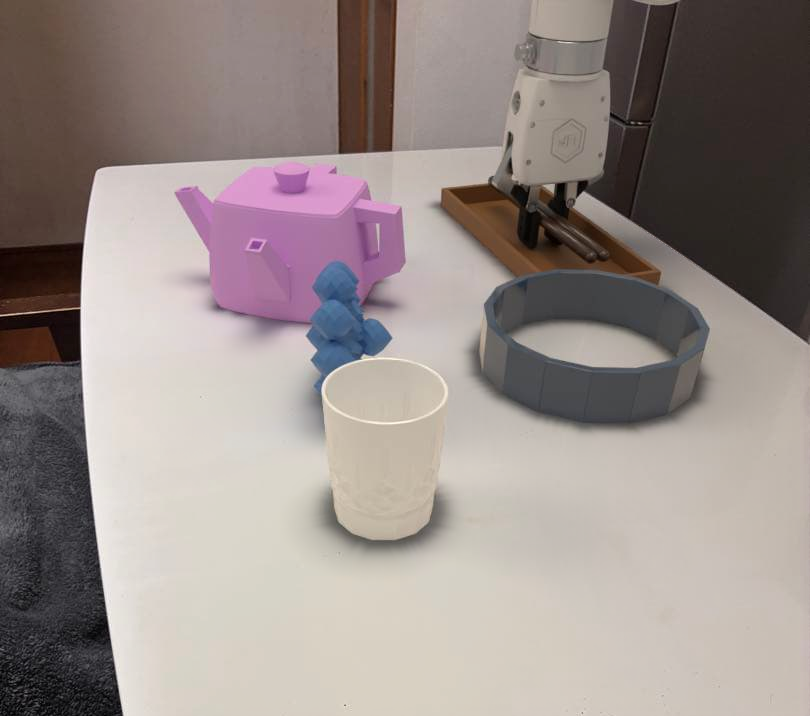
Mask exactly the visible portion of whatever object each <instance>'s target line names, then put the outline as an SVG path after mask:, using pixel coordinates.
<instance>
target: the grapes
mask: <svg viewBox="0 0 810 716" xmlns="http://www.w3.org/2000/svg"><path fill="white" fill-rule="evenodd" d="M359 282H360V281H359V280H358V278H357V277H356V275H355V274H354V273H353V272H352V270H351V269H350V268H349V267H348V266H347V265H346V264H345V263H343V262H341V261H333V262H331V263H329V264H328V265H327V266H326V267H325V268H324V269H323V271H322V272H321V273H320V274H319V276H318V277H317V278H316V282H315V283H314V285H313V286H312V289H313V290H314V292H315V293H316V294H317V296H318V297H319V300H320V301H321V303H322V305H321V306H320V307H319V308H318V309H317V311H316V312H315V313H314V314H313V316H312V317H311V318H310V321H311V322H312V323H311V324H312V325H313V326H311V328H310V329H309V330H308V331H307V333H306V334H305V337H306V338H307V340H308V341H309V342H310V344H311V345H312V346H313V347H314V349H315V350H317V351H316V352H315V353H314V354H313V355H312V357H311V358H310V361H311V363H312V364H313V366H314V367H315V368H316V369H317V371H319V373H320V374H321V376H320V377H319V378H318V380H316V382H315V384H314V385H313V388H314V389H315V390H316V392H317V393H318V395H320V396H321V397H322V392H321V389H322V384H323V382H324V380H325V379H326V377H327V376H328V375H329V374H330V373H331V372H332V371H334V370H335V369H337V368H339V367H340V366H343V365H345V364H347V363H350V362H353V361H357V360H362V359H363V358H362V357H363V355H365V356H368V357H375V356H377V355H379V354H380V353H381V352H383V351H384V350H385V349H386V348H387V346H388V345H390V343H391V341H392V340H393V336H392V334H391V333H390V332H389V331H388V329H387V328H386V326H384V324H383V323H381V322H380V321H379V320H378V319H375V318H370V317H368V318H366V319H365V318H364V314H363V313H364V312H365V311H364V309H363V308H362V307H361V306H359V305H358V303H359V302H360V300H361V299H360V298H359V297H358V295H357V294H356V291H357V289H358V288H357V287H356V286H357V284H358V283H359Z"/></svg>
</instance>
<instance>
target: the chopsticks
mask: <svg viewBox="0 0 810 716" xmlns="http://www.w3.org/2000/svg"><path fill="white" fill-rule="evenodd" d="M493 177H494V175H491V176H489V177H488V179H487V183H488V184H489V185H490V186H491V187H492V188H494V189H495V190H496V191H497V192H499V193H500V194H501V195H502V196H504V197H505V198H506V199H507V200H509V201H510V202H511V203H512V204H514V205H515V206H516V207H517V208H519V209H520V205H519V204H518V203H517V202H516V200H515V199H514V198H513V197H512V196H511V195H510V194H507V193H505V192H503V191H501V190H499V189H497V188H496V187H495V186H494V185H493V184H492V179H493ZM511 180H512V181H515V180H514V179H512V178H511ZM517 184H518V183H517ZM537 210H538V211H539V212H540V213H541V218H540V221H539V224H540V226H541V227H543V228H544V229H545V230H546V231H548V232H549V233H550V234H551V235H553V236H554V237H555V238H557V239H558V240H559V241H560V242H562V243H563V244H564V245H565V246H567V247H568V248H569V249H570V250H572V251H573V252H574V253H575V254H577V255H578V256H579V257H580V258H582V259H583V260H584V261H585V262H587V263H588V264H593V263H594V262H595V261H596V260H599V261H600V262H606V261H607V260H608V259H609V252H608V251H607V250H606V249H604V248H603V247H602V246H600V245H599V244H598V243H596V242H595V241H594V240H592V239H591V238H590V237H588V236H587V235H586V234H584V233H583V232H582V231H580V230H579V229H578V228H576V227H575V226H574V225H572V224H571V223H570V222H568V221H567V220H566V219H564V218H563V217H562V216H560V215H559V214H558V213H556V212H555V211H554V210H552V209H551V208H550V207H548V206H547V205H546V204H544V203H543V202H542V201H540V200H538V206H537Z"/></svg>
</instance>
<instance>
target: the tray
mask: <svg viewBox="0 0 810 716" xmlns="http://www.w3.org/2000/svg"><path fill="white" fill-rule="evenodd" d="M514 181H515V182H516V183H518V182H519V181H518V180H517V179H515V180H514ZM440 189H441V191H440V207H441V208H442V209H443V210H444V211H445V212H446V213H447V214H448V215H449V216H451V218H453V219H454V220H455V221H456V222H457V223H458V224H460V225H461V227H463V228H464V229H465V230H466V231H467V232H468V233H469V234H470V235H471V236H472V237H473V238H474V239H475V240H477V241H478V242H479V243H480V244H481V245H482V246H483V247H484V248H485V249H487V250H488V251H489V252H490V253H491V254H492V255H493V256H494V257H495V258H496V259H497V260H498V261H499V262H500V263H502V264H503V266H505V267H506V268H507V269H508V270H509V271H510V272H511V273H512V274H513V275H514V276H515V277H516V278H517V277H519V276H521V275H526V274H532V273H538V272H544V271H550V270H558V269H569V270H599V271H604V272H610V273H615V274H621V275H626V276H631V277H636V278H639V279H642V280H645V281H647V282H650V283H653V284H656V285H658V286H660V285H659V284H660V281H661V280H660V279H661V275H662V271H661V270H660V269H659V268H657V267H656V266H655V265H653V264H652V263H650V262H649V261H647V260H646V259H645V258H644V257H642V256H641V255H640V254H638V253H637V252H635V251H634V250H632V249H631V248H630V247H629V246H627V245H626V244H624V243H623V242H621V241H620V240H619V239H618V238H616V237H615V236H613V235H611V234H610V233H609V232H608V231H606V230H605V229H604V228H602V227H601V226H599V225H598V224H596V223H595V222H594V221H592V220H591V219H590V218H588V217H587V216H585V215H584V214H583V213H581V212H580V211H579V210H577V208H574V206H573V207H572V208H570V209H569V215H568V222H570V223H571V224H572V225H574V226H575V227H576V228H578V229H579V230H580V231H582V232H583V233H584V234H586V235H587V236H588V237H590V238H591V239H592V240H594V241H595V242H596V243H598V244H599V245H600V246H602V247H603V248H604V249H606V250H607V251H608V252H609V259H608V260H607V261H606V262H600V261H599V260H596V261H595V262H594V263H593V264H588V263H587V262H585V261H584V260H583V259H582V258H580V257H579V256H578V255H577V254H575V253H574V252H573V251H572V250H570V249H569V248H568V247H567V246H565V245H564V244H562V245H556V244H554V243H553V242H552V241H550V240H549V239H548V238H547V237H545V235H544V230H545V229H544V228H543V227H541V226H539V234H538V241H537V247H535V248H534V249H529V248H528V247H527V246H526V245H525V244H523V243H522V242H521V241H520V240H519V237H518V234H517V227H518V218H519V210H520V209H519V208H517V207H516V206H515V205H514V204H512V203H511V202H510V201H509V200H507V199H506V198H505V197H504V196H502V195H501V194H500V193H499V192H497V191H496V190H495V189H494V188H492V187H491V186H490V185H489V184H488V182H487V183H478V184H467V185H459V186H450V187H441V188H440ZM550 199H554V192H552V191H551V190H550V189H548V188H547V187H545V185H541V189H540V194H539V200H540V201H542V202H543V203H544V204H546V205H547V206H548V203H549V200H550Z"/></svg>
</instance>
